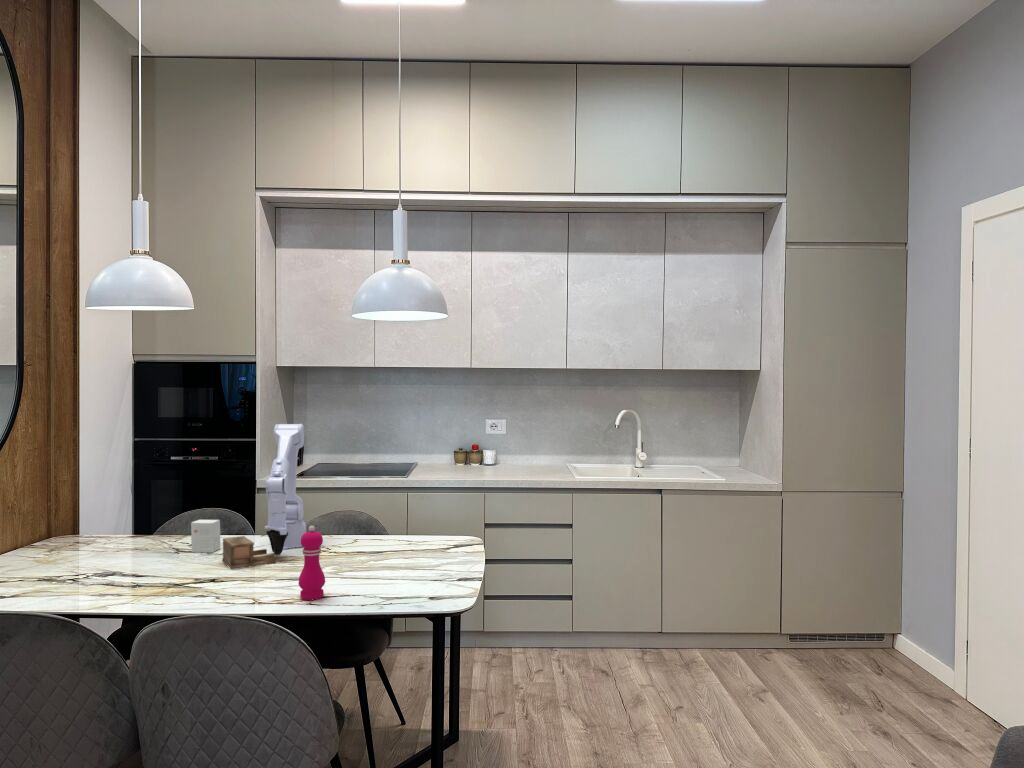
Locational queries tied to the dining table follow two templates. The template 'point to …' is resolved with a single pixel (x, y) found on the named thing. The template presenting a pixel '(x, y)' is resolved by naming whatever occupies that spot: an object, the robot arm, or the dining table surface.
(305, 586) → the pepper mill
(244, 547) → the tan piece
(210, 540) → the small box
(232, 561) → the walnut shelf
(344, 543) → the dining table surface
